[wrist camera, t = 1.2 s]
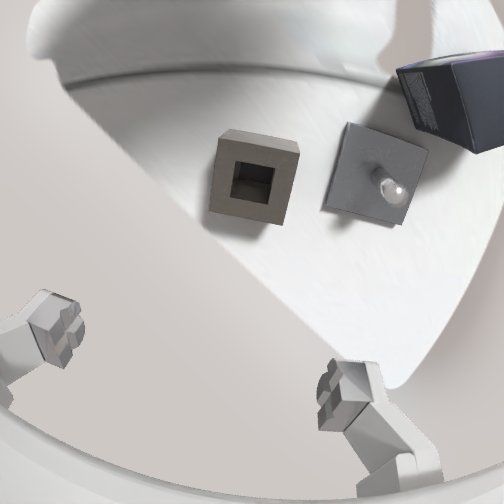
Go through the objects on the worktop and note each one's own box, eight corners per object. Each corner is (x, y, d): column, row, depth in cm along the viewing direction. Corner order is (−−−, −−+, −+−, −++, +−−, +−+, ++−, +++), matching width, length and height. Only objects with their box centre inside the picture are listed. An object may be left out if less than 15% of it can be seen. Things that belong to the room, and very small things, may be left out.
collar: (230, 129, 25) (218, 138, 20) (296, 142, 25) (300, 153, 21) (220, 190, 28) (208, 211, 24) (282, 202, 28) (282, 225, 24)
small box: (474, 49, 17) (544, 49, 8) (492, 108, 20) (561, 130, 11) (391, 66, 20) (450, 59, 11) (415, 131, 23) (477, 160, 14)
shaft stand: (347, 121, 23) (365, 131, 18) (423, 148, 23) (454, 165, 18) (325, 202, 27) (335, 231, 22) (398, 221, 27) (419, 251, 22)
